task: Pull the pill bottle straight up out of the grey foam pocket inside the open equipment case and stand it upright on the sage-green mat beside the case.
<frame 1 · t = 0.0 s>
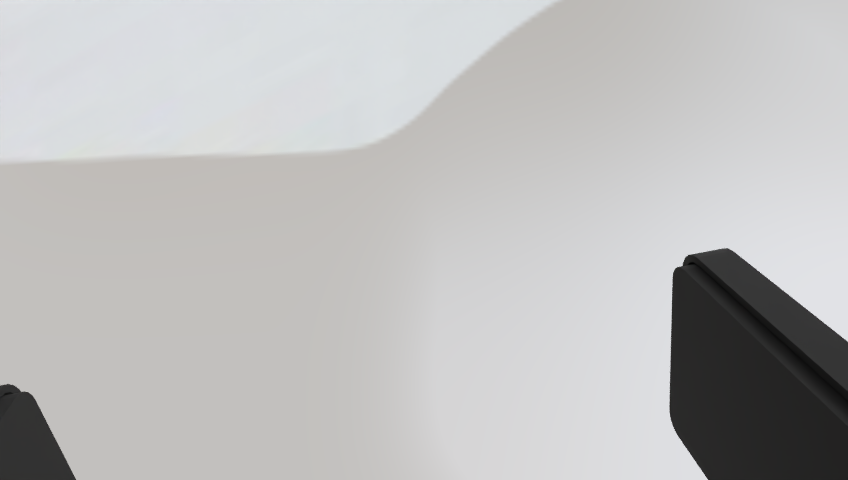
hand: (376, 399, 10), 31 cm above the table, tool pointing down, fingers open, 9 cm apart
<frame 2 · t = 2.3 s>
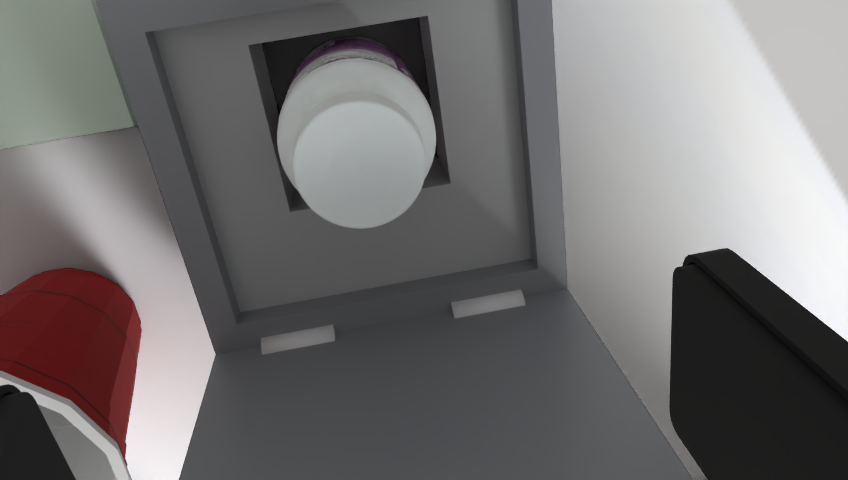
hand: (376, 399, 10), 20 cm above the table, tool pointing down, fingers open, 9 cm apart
plastic cup: (83, 317, 31), on the table
pill bottle: (353, 97, 28), resting in equipment case
equipment case: (360, 132, 29), on the table
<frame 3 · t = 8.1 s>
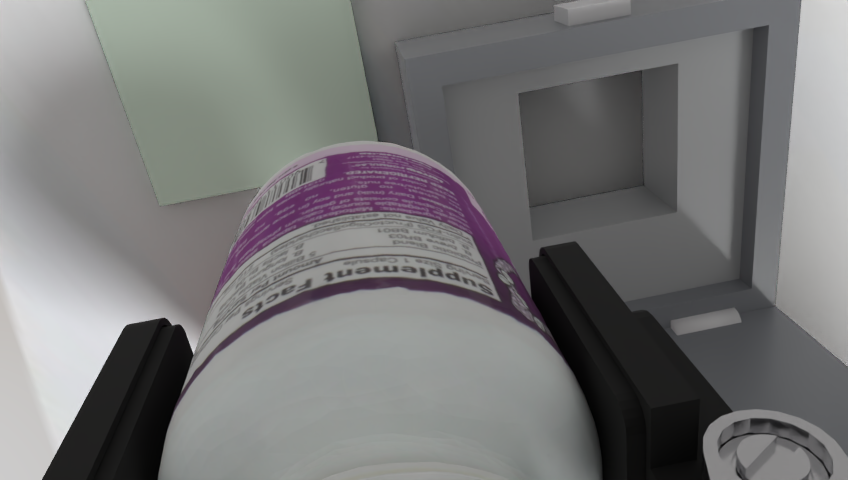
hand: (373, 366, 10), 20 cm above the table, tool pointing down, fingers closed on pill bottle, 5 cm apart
pill bottle: (364, 249, 14), point 16 cm above the table, touching gripper
equipment case: (576, 164, 31), on the table
sage mat: (245, 81, 28), on the table
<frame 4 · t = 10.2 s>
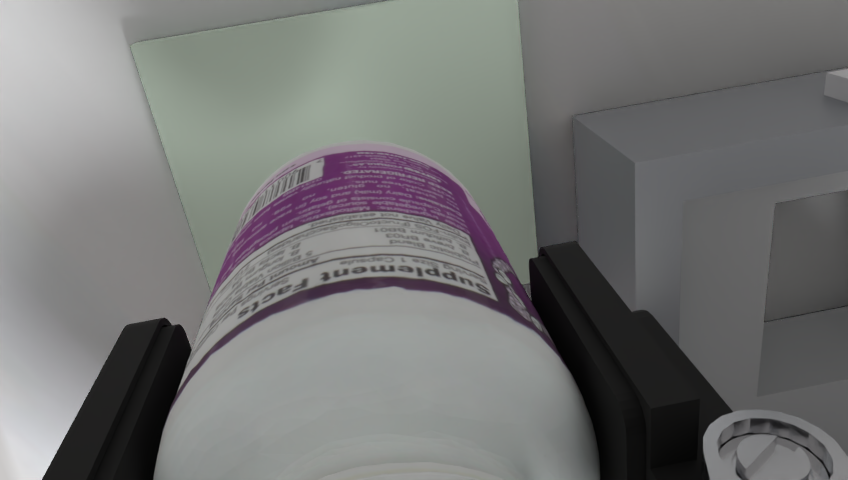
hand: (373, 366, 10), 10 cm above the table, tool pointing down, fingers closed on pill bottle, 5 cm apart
pill bottle: (362, 249, 14), point 6 cm above the table, touching gripper
equipment case: (792, 275, 23), on the table
sage mat: (357, 170, 19), on the table
when the fingers open (6 cm above the table, at t = 11.8 s): pill bottle drops 1 cm, resting on sage mat.
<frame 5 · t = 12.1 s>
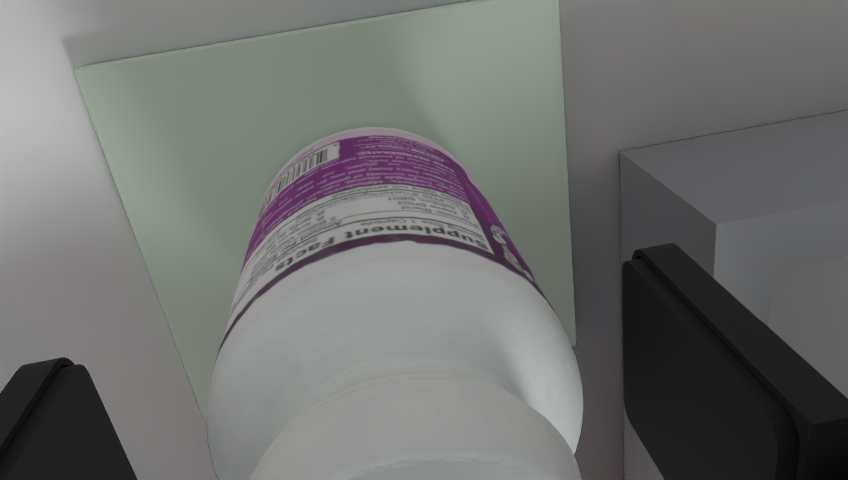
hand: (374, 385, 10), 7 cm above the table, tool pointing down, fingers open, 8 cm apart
pill bottle: (373, 227, 16), resting on sage mat
sage mat: (360, 217, 16), on the table
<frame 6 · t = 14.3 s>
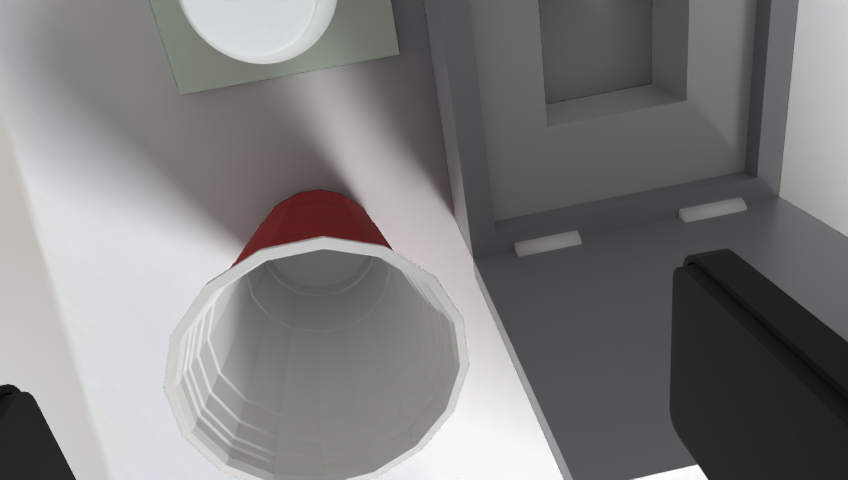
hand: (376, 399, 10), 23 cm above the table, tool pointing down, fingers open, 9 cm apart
plastic cup: (323, 237, 34), on the table
equipment case: (587, 60, 32), on the table
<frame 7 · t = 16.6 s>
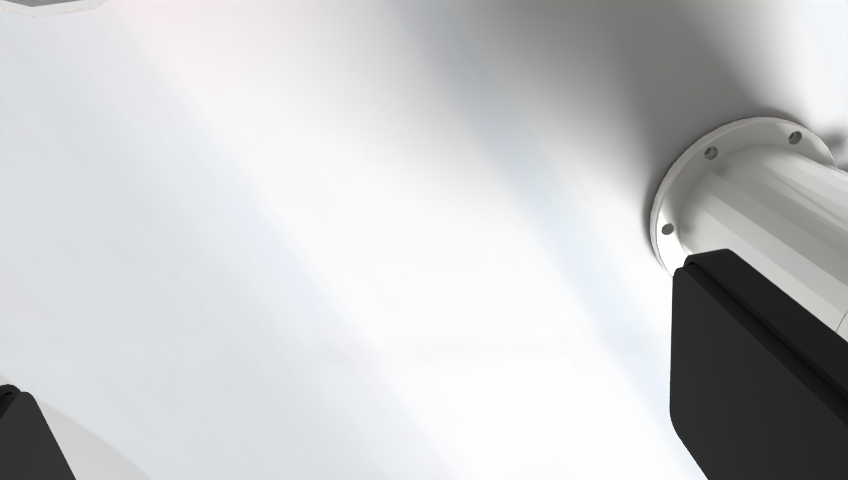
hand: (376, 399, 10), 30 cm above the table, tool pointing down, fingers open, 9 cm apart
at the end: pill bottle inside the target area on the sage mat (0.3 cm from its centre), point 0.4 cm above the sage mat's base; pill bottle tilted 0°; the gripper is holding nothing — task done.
